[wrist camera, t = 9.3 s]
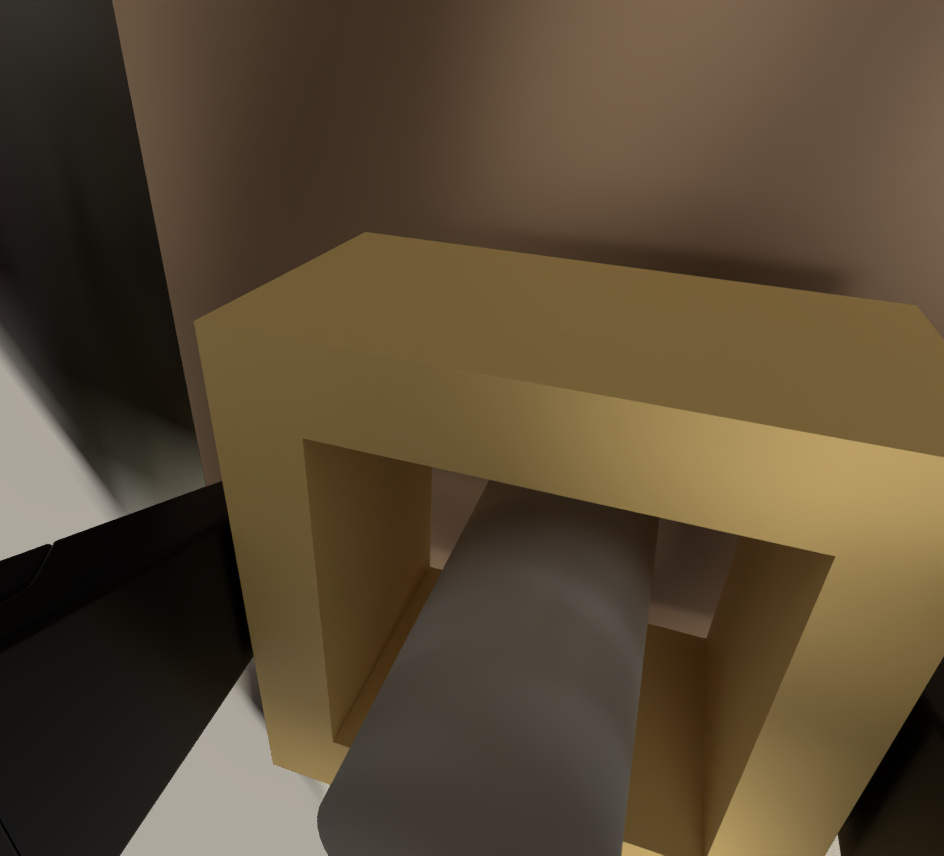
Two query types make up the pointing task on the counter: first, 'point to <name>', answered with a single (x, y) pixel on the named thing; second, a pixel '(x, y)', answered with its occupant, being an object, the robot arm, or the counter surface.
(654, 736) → the open wall cube
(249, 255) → the board
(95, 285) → the counter surface
